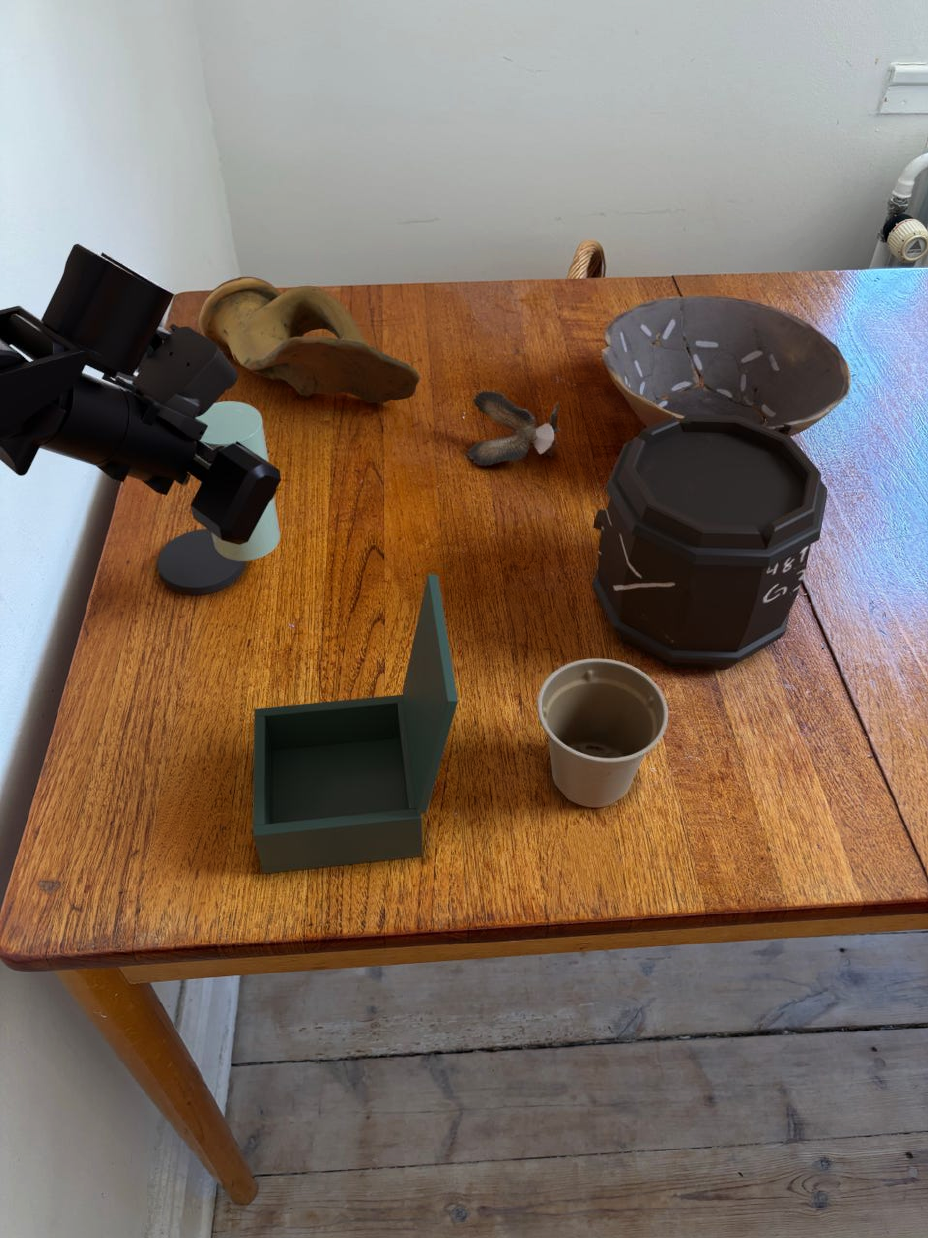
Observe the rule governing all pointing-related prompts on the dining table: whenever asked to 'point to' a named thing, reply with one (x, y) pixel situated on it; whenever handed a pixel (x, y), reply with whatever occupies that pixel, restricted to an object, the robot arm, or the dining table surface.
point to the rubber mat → (197, 565)
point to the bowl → (724, 362)
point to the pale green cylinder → (247, 429)
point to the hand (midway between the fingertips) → (250, 478)
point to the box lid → (429, 694)
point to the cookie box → (333, 785)
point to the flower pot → (599, 727)
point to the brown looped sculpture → (301, 341)
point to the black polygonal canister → (706, 539)
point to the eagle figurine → (519, 422)
